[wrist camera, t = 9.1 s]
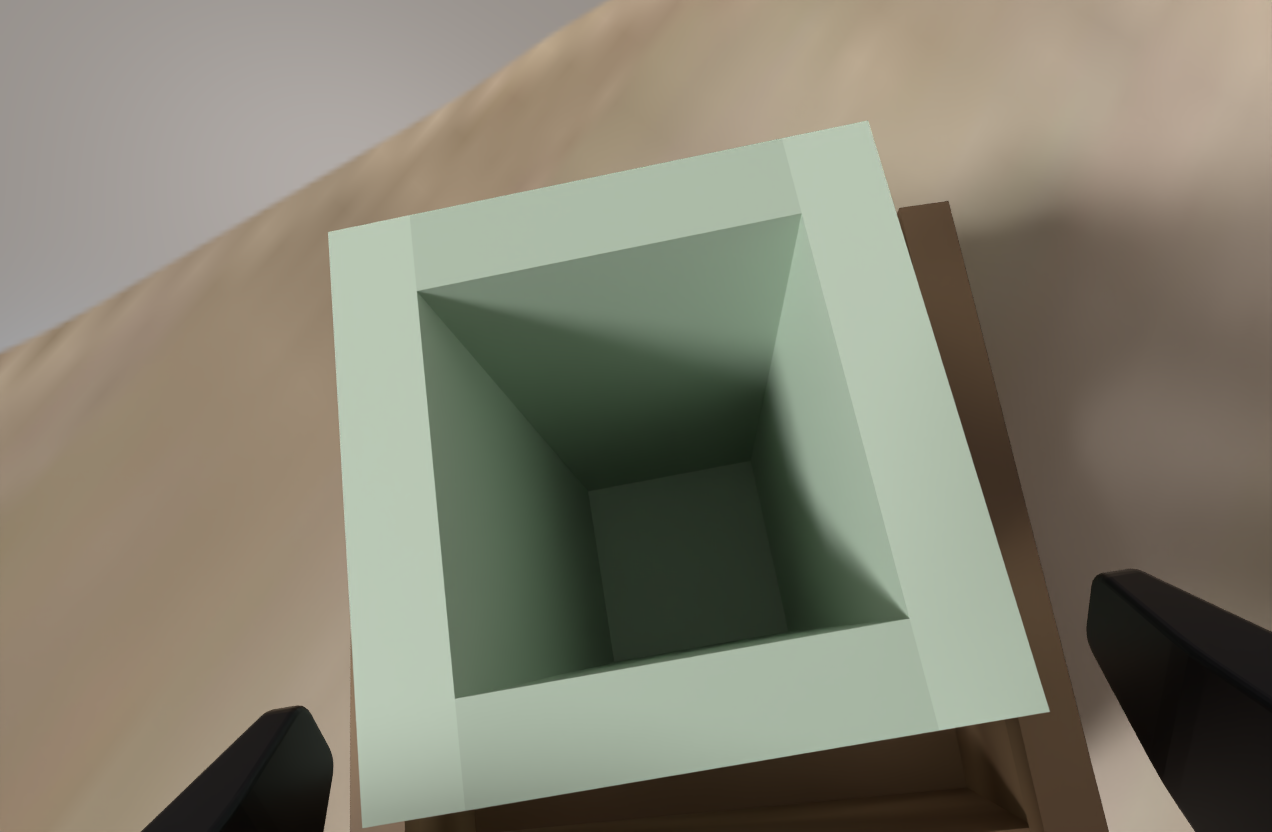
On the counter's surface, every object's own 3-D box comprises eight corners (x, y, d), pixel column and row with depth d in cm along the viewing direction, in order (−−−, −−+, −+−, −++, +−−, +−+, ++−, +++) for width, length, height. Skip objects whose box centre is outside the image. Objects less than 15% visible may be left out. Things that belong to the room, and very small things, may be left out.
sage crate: (832, 664, 18) (1050, 712, 6) (586, 707, 18) (361, 827, 6) (776, 427, 19) (867, 121, 8) (553, 469, 20) (329, 231, 8)
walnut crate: (1005, 816, 17) (1123, 888, 12) (450, 867, 18) (349, 953, 13) (892, 305, 21) (948, 201, 16) (435, 367, 22) (351, 286, 17)
